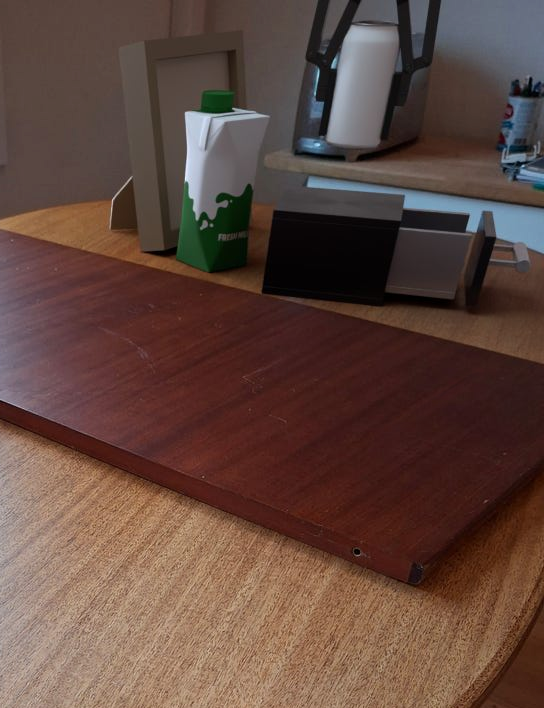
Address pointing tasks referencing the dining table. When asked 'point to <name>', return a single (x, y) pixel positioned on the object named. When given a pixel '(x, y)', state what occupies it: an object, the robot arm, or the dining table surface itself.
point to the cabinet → (332, 244)
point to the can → (363, 84)
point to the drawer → (446, 254)
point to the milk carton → (219, 182)
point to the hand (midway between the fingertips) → (353, 135)
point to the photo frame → (168, 124)
